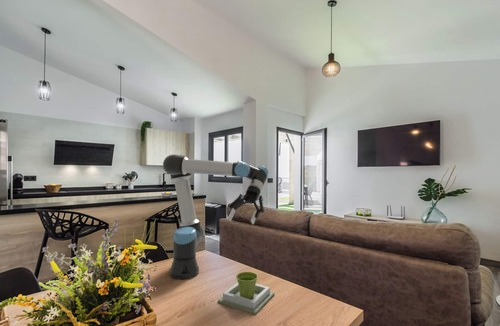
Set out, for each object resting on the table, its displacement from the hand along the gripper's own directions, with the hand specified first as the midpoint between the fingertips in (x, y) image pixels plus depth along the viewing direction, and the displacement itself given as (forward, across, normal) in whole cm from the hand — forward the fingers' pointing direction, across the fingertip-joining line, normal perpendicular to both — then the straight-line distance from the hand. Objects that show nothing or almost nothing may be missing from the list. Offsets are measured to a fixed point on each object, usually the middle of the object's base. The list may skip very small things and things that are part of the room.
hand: (240, 221), depth 130 cm
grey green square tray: (+31, -12, -11) cm, 35 cm away
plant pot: (+30, -12, -11) cm, 34 cm away
